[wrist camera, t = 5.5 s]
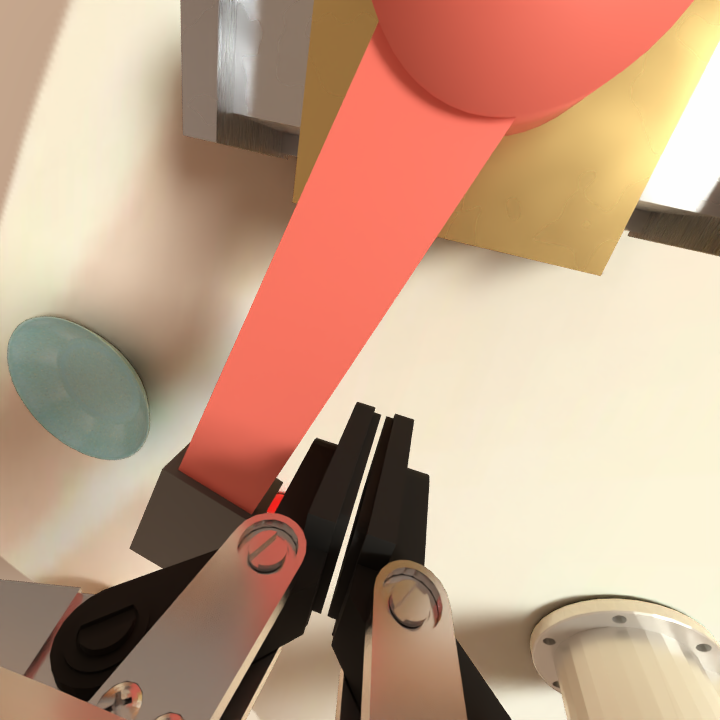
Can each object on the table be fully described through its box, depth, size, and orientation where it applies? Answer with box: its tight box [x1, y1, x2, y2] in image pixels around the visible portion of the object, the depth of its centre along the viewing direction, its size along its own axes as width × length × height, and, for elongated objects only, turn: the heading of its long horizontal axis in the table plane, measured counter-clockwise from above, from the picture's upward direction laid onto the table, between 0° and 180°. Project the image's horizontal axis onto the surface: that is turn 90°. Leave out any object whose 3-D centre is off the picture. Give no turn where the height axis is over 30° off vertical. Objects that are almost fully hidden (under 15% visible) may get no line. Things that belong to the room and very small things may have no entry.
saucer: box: [7, 316, 150, 460], centre depth 27 cm, size 12×12×2 cm
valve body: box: [181, 0, 720, 276], centre depth 10 cm, size 18×8×14 cm, turn 78°
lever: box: [130, 0, 694, 569], centre depth 8 cm, size 18×4×2 cm, turn 149°
